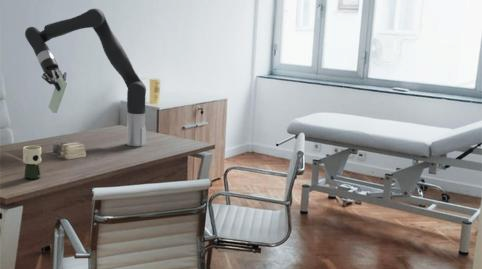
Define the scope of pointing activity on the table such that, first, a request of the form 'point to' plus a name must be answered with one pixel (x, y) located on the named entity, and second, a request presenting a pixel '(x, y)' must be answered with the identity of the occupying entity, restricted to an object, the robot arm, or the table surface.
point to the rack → (68, 150)
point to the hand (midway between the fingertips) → (61, 89)
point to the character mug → (32, 161)
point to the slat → (57, 95)
